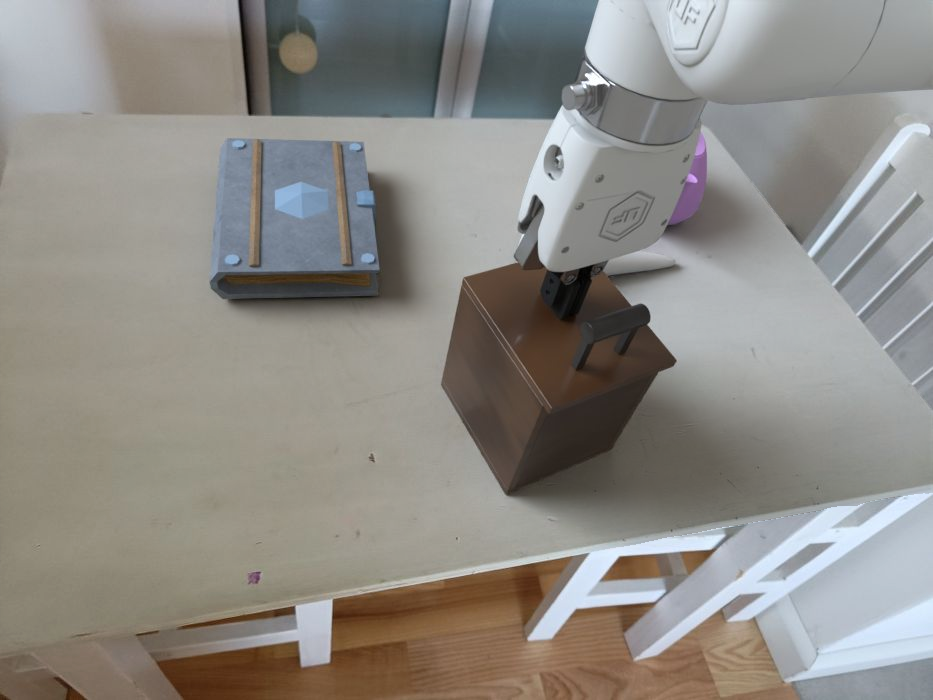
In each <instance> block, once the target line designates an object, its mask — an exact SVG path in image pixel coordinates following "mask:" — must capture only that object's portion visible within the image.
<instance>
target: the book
mask: <svg viewBox="0 0 933 700" xmlns="http://www.w3.org/2000/svg"><path fill="white" fill-rule="evenodd" d="M219 149H220V150H219V158H218V159H219V161H218V172H217V173H218V174H217V187H216V198H215V210H214V223H213V235H212V246H211V247H212V248H211V259H210V273H209V286H210V289H211V290H212V291H213V293H215V294H216V295H217V296H219V297H220V298H221V299H222V300H235V299H237V300H238V299H281V298H285V299H286V298H326V297H327V298H328V297H330V298H332V297H373V296H375V297H376V296H379V287H378V278H377V274H380V272H381V271H380V269H381V268H380V261H379V252H378V246H377V238H376V230H375V227H376V210H377V205H376V196H375V191H374V190H370V189H371V188H370V182H369V174H368V167H367V166H368V165H367V157H366V150H365V141H354V140H353V141H352V140H351V141H350V140H313V139H310V140H309V139H279V138H278V139H274V138H273V139H272V138H241V137H240V138H239V137H237V138H235V137H227V138H226V139H225V140H224V142H222V144H221V146H220V148H219Z"/></svg>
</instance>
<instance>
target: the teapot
mask: <svg viewBox="0 0 933 700" xmlns="http://www.w3.org/2000/svg"><path fill="white" fill-rule="evenodd" d="M707 152H708V151H707V143H706V139H705V137H704V135H703V132H702V130H701V131H700V136H699V141H698V145H697V149H696V153H695V156H694V159H693V162H692V166H691V169H690V172H689V174H688V177H687V180H686V182H685V185H684V187H683V190H682V192H681V195H680V197H679V200H678V202H677V204H676V207H675V209H674V211H673V213H672V216H671V218H670V220H669V222H668V224H667V226H672V225H677V224H680V223H681V222H684V221H685V220H688V219H689V218H691V217H693V215H694V214H695V213H696V212H697V211H698V209H699V207H700V205H701V202H702V199H703V196H704V192H705V188H706V185H707V176H708V153H707Z"/></svg>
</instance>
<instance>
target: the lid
mask: <svg viewBox="0 0 933 700" xmlns="http://www.w3.org/2000/svg"><path fill="white" fill-rule="evenodd" d="M546 272H547V268H546V267H542V269H535V270H523V269H522V268H521V266H520V265H519V264H518V262H517V261H516V262H514V263H511V264H507V265H504V266H500V267H496V268H493V269H489V270H486V271H482V272H478V273H474V274H471V275H467V276H463V277H462V281H461V285H463V287H464V288H465V290H466V291H467V293H468V294H469V295H470V297H471V298H472V300H473V301H474V303H475V304H476V306H477V307H478V309H479V310H480V312H481V313H482V315H483V316H484V318H485V319H486V321H487V322H488V324H489V325H490V327H491V328H492V330H493V331H494V333H495V334H496V336H497V337H498V339H499V340H500V342H501V343H502V345H503V346H504V348H505V349H506V351H507V352H508V354H509V355H510V357H511V358H512V360H513V361H514V363H515V364H516V366H517V367H518V369H519V370H520V372H521V373H522V375H523V376H524V378H525V379H526V381H527V382H528V384H529V385H530V387H531V388H532V390H533V391H534V393H535V394H536V396H537V397H538V399H539V400H540V402H541V403H542V405H543V406H544V408H545V409H546V411H547V412H548V414H553V413H555V412H558V411H560V410H563V409H565V408H568V407H571V406H573V405H576V404H578V403H581V402H583V401H586V400H589V399H591V398H594V397H596V396H599V395H601V394H604V393H607V392H609V391H612V390H614V389H617V388H619V387H622V386H625V385H627V384H630V383H632V382H635V381H637V380H640V379H643V378H645V377H648V376H650V375H653V374H655V373H658V372H659V373H660V372H663V371H666V370H668V369H671V368H673V367H674V366H675V365H676V363H677V362H678V360H677V359H676V357H675V356H674V355H673V354H672V352H671V351H670V350H669V349H668V347H666V345H665V344H664V343H663V341H662V340H661V339H660V338H659V337H658V336H657V335H656V333H655V332H654V331H653V330H652V328H651V327H650V326H649V323H650V322H651V317H652V316H651V311H650V310H649V308H648V307H647V305H645V304H644V303H636V304H634V305H632V304H631V303H630V302H629V301H628V299H627V298H626V297H625V296H624V295H623V293H622V292H621V291H620V290H619V289H618V287H617V286H616V285H615V284H614V282H613V281H612V279H610V277H609V276H607V275H606V274H605V273H604V272H603V271H602V272H601V273H600V274H599V275H598V276H596V277H591V280H592V282H591V285H590V287H589V290H588V292H587V294H586V297H585V299H584V301H583V304H582V306H581V309H580V311H579V313H578V314H576V315H573V316H571V315H568V316H567V318H564V319H561V320H560V319H559V318H558V317H557V316H556V314H555V313H554V312H553V310H552V309H551V308H550V307H549V306H547V304H546V303H545V302H544V300H543V299H542V296H541V293H540V289H541V286H542V284H543V281H544V278H545V275H546ZM659 373H658V374H659Z"/></svg>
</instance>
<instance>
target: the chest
mask: <svg viewBox="0 0 933 700" xmlns="http://www.w3.org/2000/svg"><path fill="white" fill-rule="evenodd" d="M443 368H444V369H443V373H442V378H441V380H440V381H441V382H440V386H441V388H442V390H443V391H444V393H445V395H446V396H447V398H448V399H449V401H450V403H451V405H452V407H453V408H454V409H455V412H456V413H457V414H458V417H459V418H460V420H461V422H462V423H463V426H464V427H465V428H466V430H467V432H468V433H469V436H470V437H471V439H472V440H473V442H474V444H475V446H476V447H477V449H478V450H479V452H480V454H481V456H482V457H483V459H484V461H485V463H486V464H487V466H488V468H489V469H490V471H491V473H492V474H493V476H494V477H495V480H496V481H497V483H498V484H499V486H500V488H501V490H502V491H503V493H504V495H505V496H508V495H509V494H513V493H514V492H517V491H519V490H522V489H523V488H525V487H528V486H530V485H533V484H535V483H537V482H540V481H542V480H544V479H547V478H549V477H551V476H554V475H555V474H559V473H561V472H563V471H565V470H568V469H570V468H573V467H575V466H577V465H579V464H581V463H583V462H586V461H588V460H591V459H593V458H596V457H597V456H600V455H602V454H605V453H606V452H608V451H609V452H610V451H611V450H612V449H613V448H614V447H615V444H616V443H617V441H618V440H619V438H620V437H621V435H622V434H623V431H624V430H625V428H626V427H627V425H628V424H629V421H630V420H631V418H632V417H633V415H634V414H635V412H636V410H637V409H638V407H639V405H640V404H641V403H642V400H643V399H644V397H645V395H646V394H647V393H648V391H649V389H650V387H651V386H652V385H653V382H654V380H656V377H657V376H658V374H659V373H660V372H658V373H655V374H653V375H650V376H648V377H645V378H643V379H640V380H637V381H635V382H632V383H630V384H627V385H625V386H622V387H619V388H617V389H614V390H612V391H609V392H607V393H604V394H601V395H599V396H596V397H594V398H591V399H589V400H586V401H583V402H581V403H578V404H576V405H573V406H571V407H568V408H565V409H563V410H560V411H558V412H555V413H553V414H548V412H547V411H546V409H545V408H544V406H543V405H542V403H541V402H540V400H539V399H538V397H537V396H536V394H535V393H534V391H533V390H532V388H531V387H530V385H529V384H528V382H527V381H526V379H525V378H524V376H523V375H522V373H521V372H520V370H519V369H518V367H517V366H516V364H515V363H514V361H513V360H512V358H511V357H510V355H509V354H508V352H507V351H506V349H505V348H504V346H503V345H502V343H501V342H500V340H499V339H498V337H497V336H496V334H495V333H494V331H493V330H492V328H491V327H490V325H489V324H488V322H487V321H486V319H485V318H484V316H483V315H482V313H481V312H480V310H479V309H478V307H477V306H476V304H475V303H474V301H473V300H472V298H471V297H470V295H469V294H468V293H467V291H466V290H465V288H464V287H463V285H462V284H461V286H460V291H459V295H458V299H457V304H456V310H455V315H454V319H453V325H452V328H451V334H450V339H449V344H448V349H447V354H446V358H445V363H444V367H443Z"/></svg>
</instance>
